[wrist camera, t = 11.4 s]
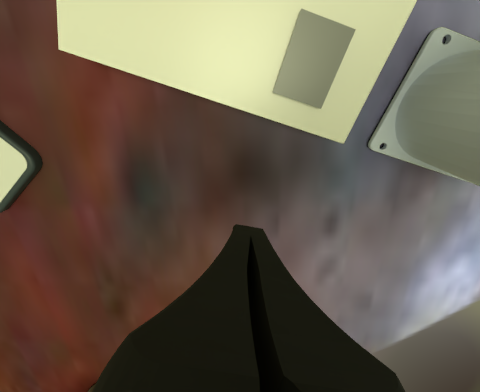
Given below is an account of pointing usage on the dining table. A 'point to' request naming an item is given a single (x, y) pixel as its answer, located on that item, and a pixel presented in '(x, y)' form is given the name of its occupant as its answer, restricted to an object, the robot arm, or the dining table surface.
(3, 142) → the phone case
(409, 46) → the dining table surface
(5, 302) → the dining table surface
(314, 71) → the socket plate
